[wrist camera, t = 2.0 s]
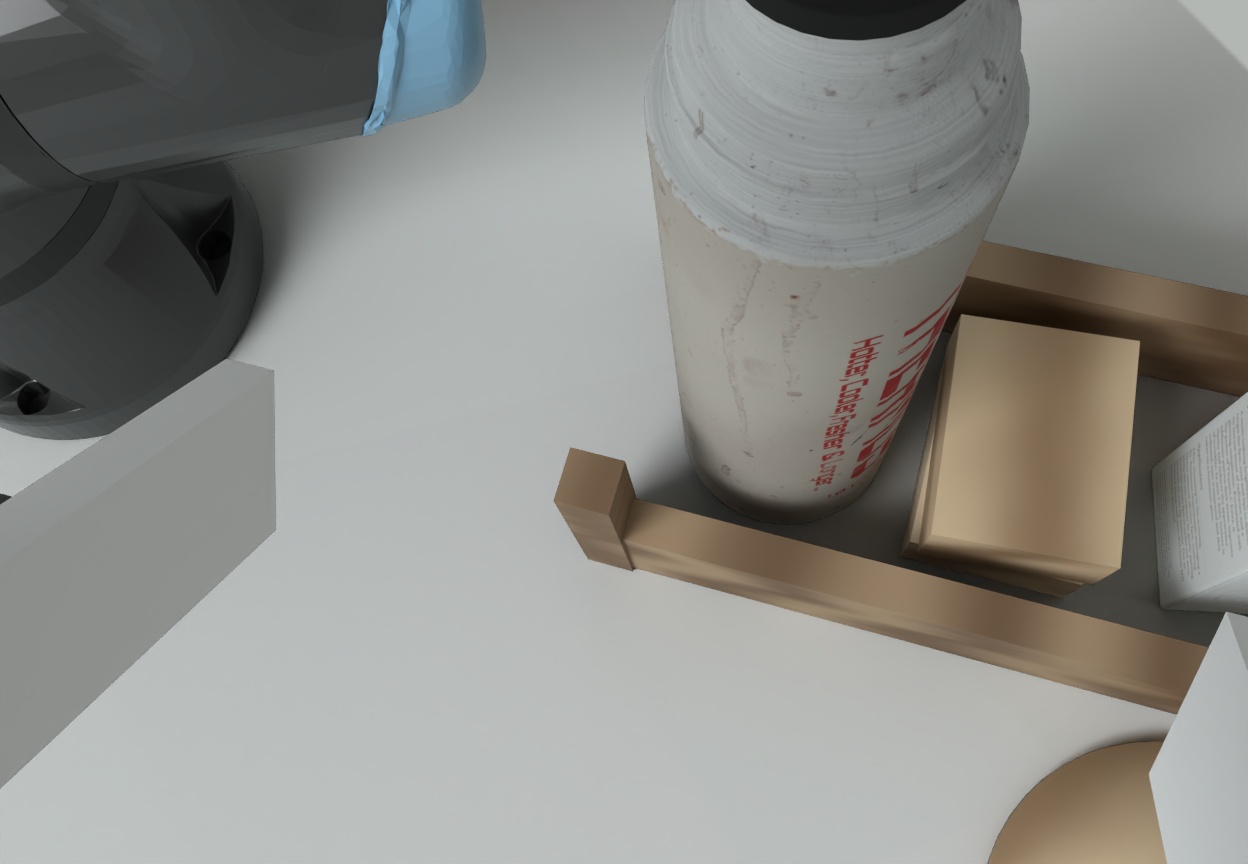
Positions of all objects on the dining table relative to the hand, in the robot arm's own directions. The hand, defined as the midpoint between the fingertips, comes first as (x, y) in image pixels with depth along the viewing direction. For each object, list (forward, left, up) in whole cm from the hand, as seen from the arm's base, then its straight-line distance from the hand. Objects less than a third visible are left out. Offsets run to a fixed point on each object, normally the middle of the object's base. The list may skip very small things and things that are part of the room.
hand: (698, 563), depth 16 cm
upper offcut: (+1, +14, -25) cm, 28 cm away
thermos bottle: (-6, +10, -28) cm, 30 cm away
